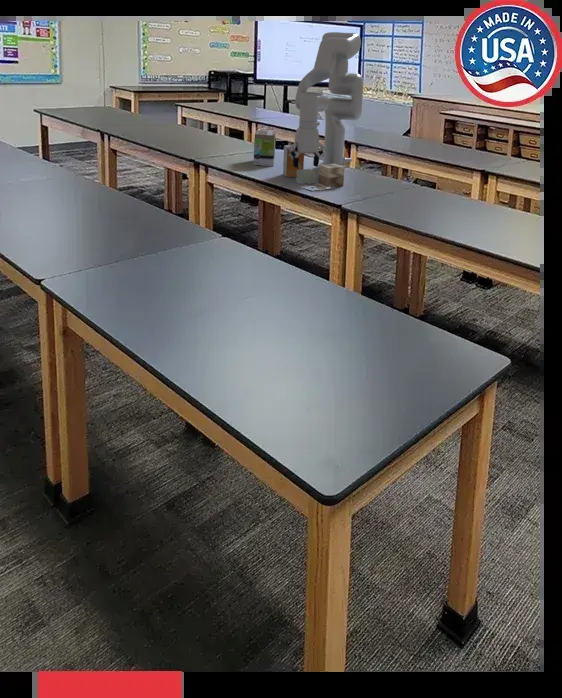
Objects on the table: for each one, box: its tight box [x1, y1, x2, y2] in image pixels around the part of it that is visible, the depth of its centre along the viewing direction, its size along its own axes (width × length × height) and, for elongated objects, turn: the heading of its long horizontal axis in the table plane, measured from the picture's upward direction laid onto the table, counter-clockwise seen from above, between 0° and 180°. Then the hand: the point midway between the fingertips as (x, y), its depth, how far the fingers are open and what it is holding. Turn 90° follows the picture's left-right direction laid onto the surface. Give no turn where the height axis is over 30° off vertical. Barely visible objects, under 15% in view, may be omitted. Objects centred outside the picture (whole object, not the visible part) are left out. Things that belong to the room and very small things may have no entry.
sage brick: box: [295, 168, 316, 185], centre depth 294 cm, size 6×6×5 cm
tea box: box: [253, 129, 277, 167], centre depth 329 cm, size 15×10×15 cm, turn 179°
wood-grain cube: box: [317, 164, 346, 187], centre depth 290 cm, size 8×8×8 cm
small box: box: [282, 144, 305, 178], centre depth 304 cm, size 8×6×13 cm
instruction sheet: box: [300, 184, 327, 191], centre depth 285 cm, size 12×9×1 cm
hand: (305, 166), depth 292 cm, fingers open, 9 cm apart
